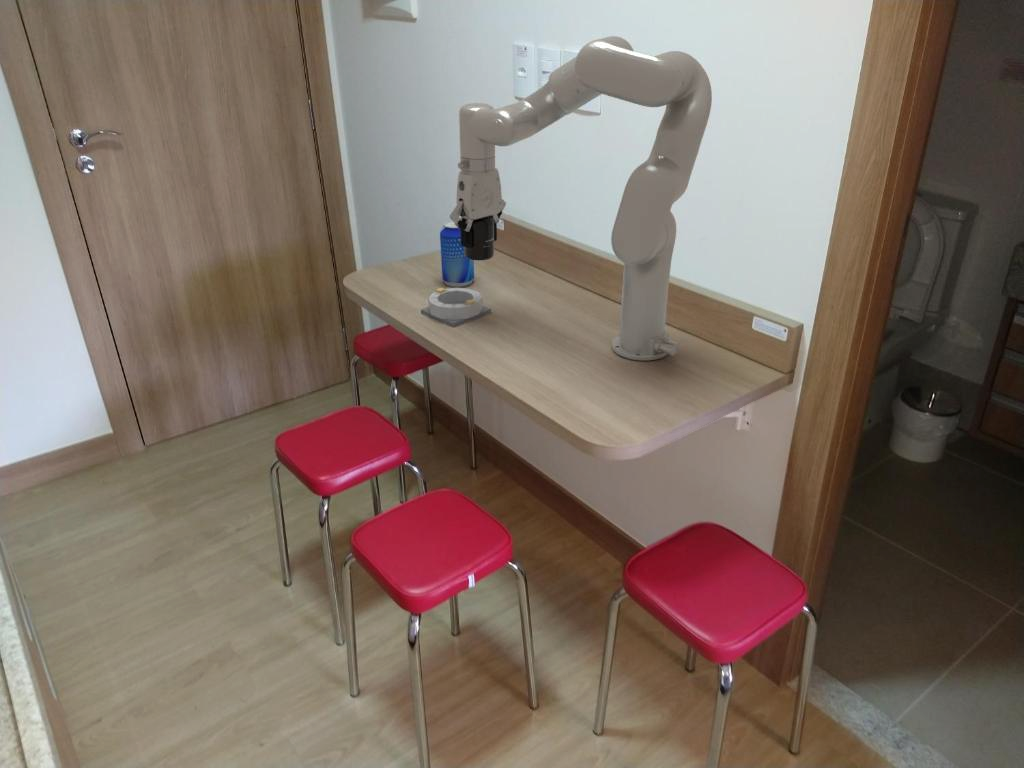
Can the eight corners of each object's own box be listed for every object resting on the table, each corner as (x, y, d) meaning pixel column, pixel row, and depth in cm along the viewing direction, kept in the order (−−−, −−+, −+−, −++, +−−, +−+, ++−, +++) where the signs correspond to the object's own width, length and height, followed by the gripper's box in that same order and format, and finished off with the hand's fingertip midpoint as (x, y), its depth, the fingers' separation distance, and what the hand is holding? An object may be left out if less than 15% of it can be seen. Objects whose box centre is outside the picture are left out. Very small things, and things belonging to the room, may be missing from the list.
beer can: (437, 286, 207) (434, 226, 200) (449, 275, 214) (446, 217, 207) (468, 289, 205) (465, 229, 197) (478, 278, 212) (476, 219, 204)
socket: (492, 312, 191) (492, 294, 189) (453, 328, 184) (452, 309, 181) (458, 299, 199) (457, 281, 197) (419, 313, 192) (418, 295, 189)
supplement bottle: (493, 261, 179) (493, 209, 173) (463, 261, 179) (462, 209, 173) (495, 251, 185) (494, 200, 179) (465, 251, 185) (464, 200, 179)
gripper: (459, 174, 164) (461, 256, 173) (518, 160, 175) (517, 238, 184) (435, 167, 169) (439, 248, 178) (495, 155, 180) (495, 231, 188)
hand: (479, 242), depth 180 cm, fingers closed on supplement bottle, 6 cm apart
